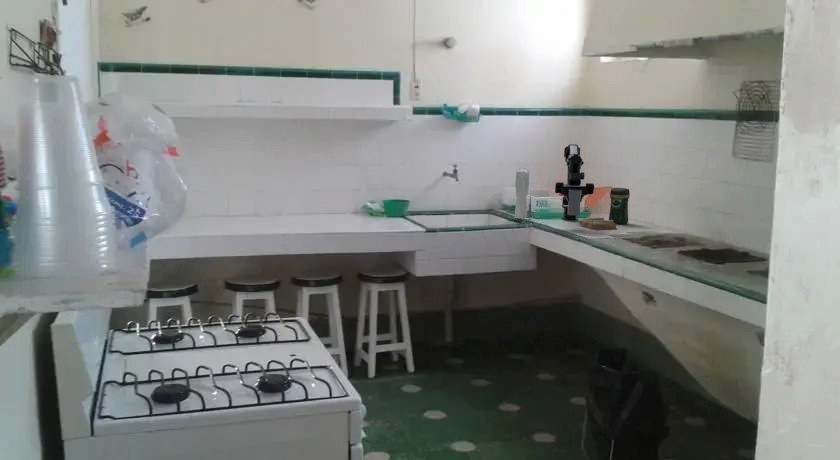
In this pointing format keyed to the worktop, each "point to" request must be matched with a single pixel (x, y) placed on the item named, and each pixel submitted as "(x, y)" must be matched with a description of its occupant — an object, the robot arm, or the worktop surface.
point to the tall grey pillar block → (574, 202)
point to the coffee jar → (619, 205)
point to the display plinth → (597, 223)
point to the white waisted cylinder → (522, 194)
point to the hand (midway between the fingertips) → (574, 201)
